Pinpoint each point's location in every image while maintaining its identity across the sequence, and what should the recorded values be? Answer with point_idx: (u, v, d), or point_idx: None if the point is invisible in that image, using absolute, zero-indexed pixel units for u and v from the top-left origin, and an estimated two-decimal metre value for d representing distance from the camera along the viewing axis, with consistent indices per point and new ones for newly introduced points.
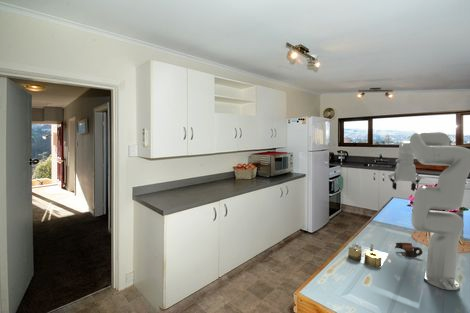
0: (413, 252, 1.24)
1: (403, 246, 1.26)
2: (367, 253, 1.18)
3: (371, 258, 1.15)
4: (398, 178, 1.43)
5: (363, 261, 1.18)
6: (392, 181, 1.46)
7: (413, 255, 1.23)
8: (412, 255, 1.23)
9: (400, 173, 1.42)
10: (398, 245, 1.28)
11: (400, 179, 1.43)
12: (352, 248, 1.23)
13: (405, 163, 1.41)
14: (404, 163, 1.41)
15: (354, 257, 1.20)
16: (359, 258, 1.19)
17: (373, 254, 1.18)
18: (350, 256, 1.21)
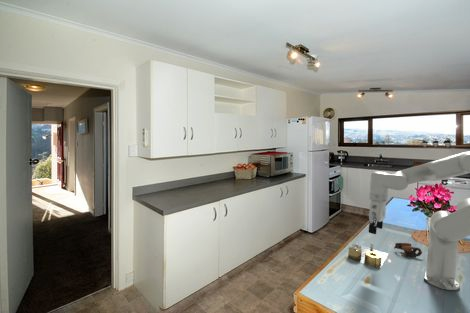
0: (412, 252, 1.23)
1: (402, 246, 1.25)
2: (367, 253, 1.18)
3: (371, 258, 1.15)
4: (380, 219, 1.12)
5: (363, 261, 1.18)
6: (373, 224, 1.12)
7: (412, 255, 1.23)
8: (411, 255, 1.23)
9: (381, 213, 1.12)
10: (397, 245, 1.28)
11: (380, 220, 1.13)
12: (352, 248, 1.23)
13: (385, 200, 1.13)
14: (384, 200, 1.13)
15: (354, 257, 1.20)
16: (359, 258, 1.19)
17: (373, 254, 1.18)
18: (350, 256, 1.21)
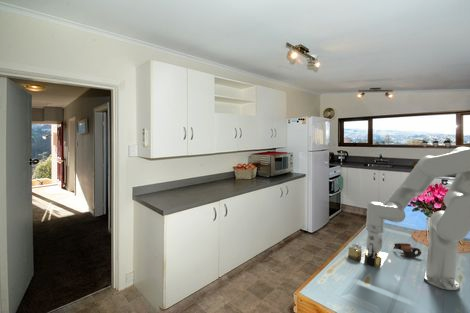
0: (412, 253, 1.23)
1: (402, 247, 1.25)
2: (367, 253, 1.18)
3: None
4: (377, 251, 1.12)
5: (363, 261, 1.18)
6: (372, 257, 1.13)
7: (412, 256, 1.22)
8: (411, 256, 1.22)
9: (378, 244, 1.12)
10: (397, 246, 1.27)
11: (378, 251, 1.13)
12: (352, 248, 1.23)
13: (382, 231, 1.13)
14: (381, 231, 1.13)
15: (354, 257, 1.20)
16: (359, 258, 1.19)
17: None
18: (350, 256, 1.21)
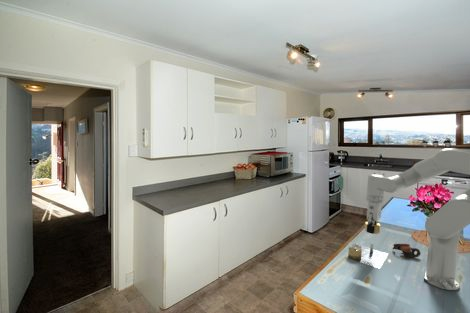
0: (411, 253, 1.22)
1: (401, 247, 1.24)
2: (367, 223, 1.27)
3: None
4: (377, 219, 1.21)
5: (363, 261, 1.18)
6: (371, 225, 1.21)
7: (411, 256, 1.22)
8: (410, 256, 1.22)
9: (378, 213, 1.21)
10: (396, 246, 1.27)
11: (377, 220, 1.22)
12: (352, 248, 1.23)
13: (381, 201, 1.21)
14: (381, 201, 1.21)
15: (354, 257, 1.20)
16: (359, 258, 1.19)
17: None
18: (350, 256, 1.21)
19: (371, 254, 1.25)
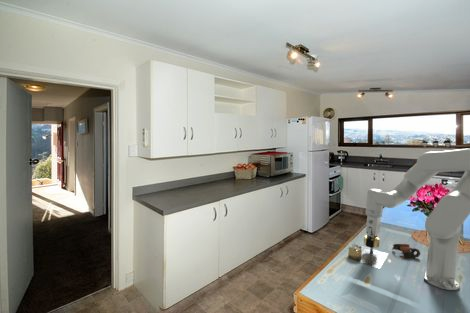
0: (411, 253, 1.22)
1: (401, 247, 1.24)
2: (366, 236, 1.28)
3: None
4: (376, 234, 1.22)
5: (363, 261, 1.18)
6: (371, 239, 1.22)
7: (411, 256, 1.22)
8: (410, 256, 1.22)
9: (377, 227, 1.22)
10: (396, 246, 1.26)
11: (376, 234, 1.22)
12: (352, 248, 1.23)
13: (380, 215, 1.22)
14: (380, 215, 1.22)
15: (354, 257, 1.20)
16: (359, 258, 1.19)
17: None
18: (350, 256, 1.21)
19: (371, 254, 1.25)
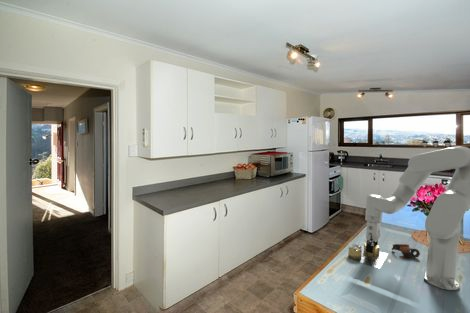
0: (410, 254, 1.22)
1: (400, 248, 1.24)
2: None
3: None
4: (376, 240, 1.22)
5: (363, 261, 1.18)
6: (370, 244, 1.21)
7: (410, 257, 1.21)
8: (409, 257, 1.21)
9: (377, 233, 1.22)
10: (395, 247, 1.26)
11: (376, 240, 1.22)
12: (352, 248, 1.23)
13: (380, 221, 1.22)
14: (379, 221, 1.22)
15: (354, 257, 1.20)
16: (359, 258, 1.19)
17: None
18: (350, 256, 1.21)
19: None
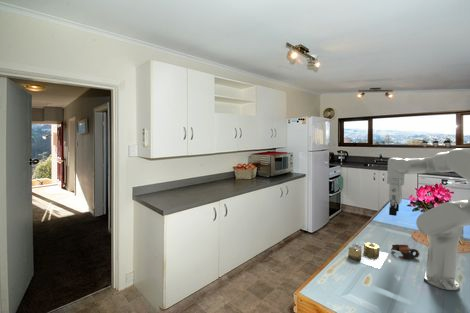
0: (410, 254, 1.21)
1: (400, 248, 1.24)
2: (366, 244, 1.28)
3: (370, 248, 1.24)
4: (399, 202, 1.21)
5: (363, 261, 1.18)
6: (394, 206, 1.20)
7: (410, 257, 1.21)
8: (409, 257, 1.21)
9: (400, 195, 1.21)
10: (395, 247, 1.26)
11: (400, 202, 1.22)
12: (352, 248, 1.23)
13: (403, 183, 1.22)
14: (402, 183, 1.22)
15: (354, 257, 1.20)
16: (359, 258, 1.19)
17: None
18: (350, 256, 1.21)
19: None
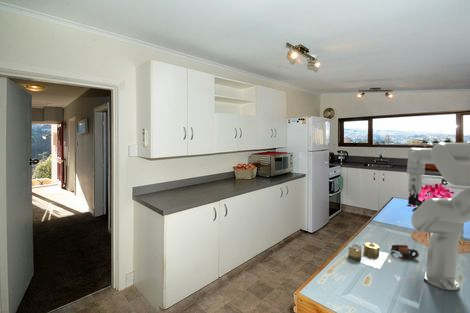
0: (409, 254, 1.21)
1: (399, 248, 1.23)
2: (366, 244, 1.28)
3: (370, 248, 1.24)
4: (419, 191, 1.22)
5: (363, 261, 1.18)
6: (414, 196, 1.22)
7: (409, 258, 1.21)
8: (408, 258, 1.21)
9: (420, 185, 1.22)
10: (394, 247, 1.25)
11: (419, 192, 1.23)
12: (352, 248, 1.23)
13: (423, 173, 1.23)
14: (423, 173, 1.23)
15: (354, 257, 1.20)
16: (359, 258, 1.19)
17: None
18: (350, 256, 1.21)
19: None
